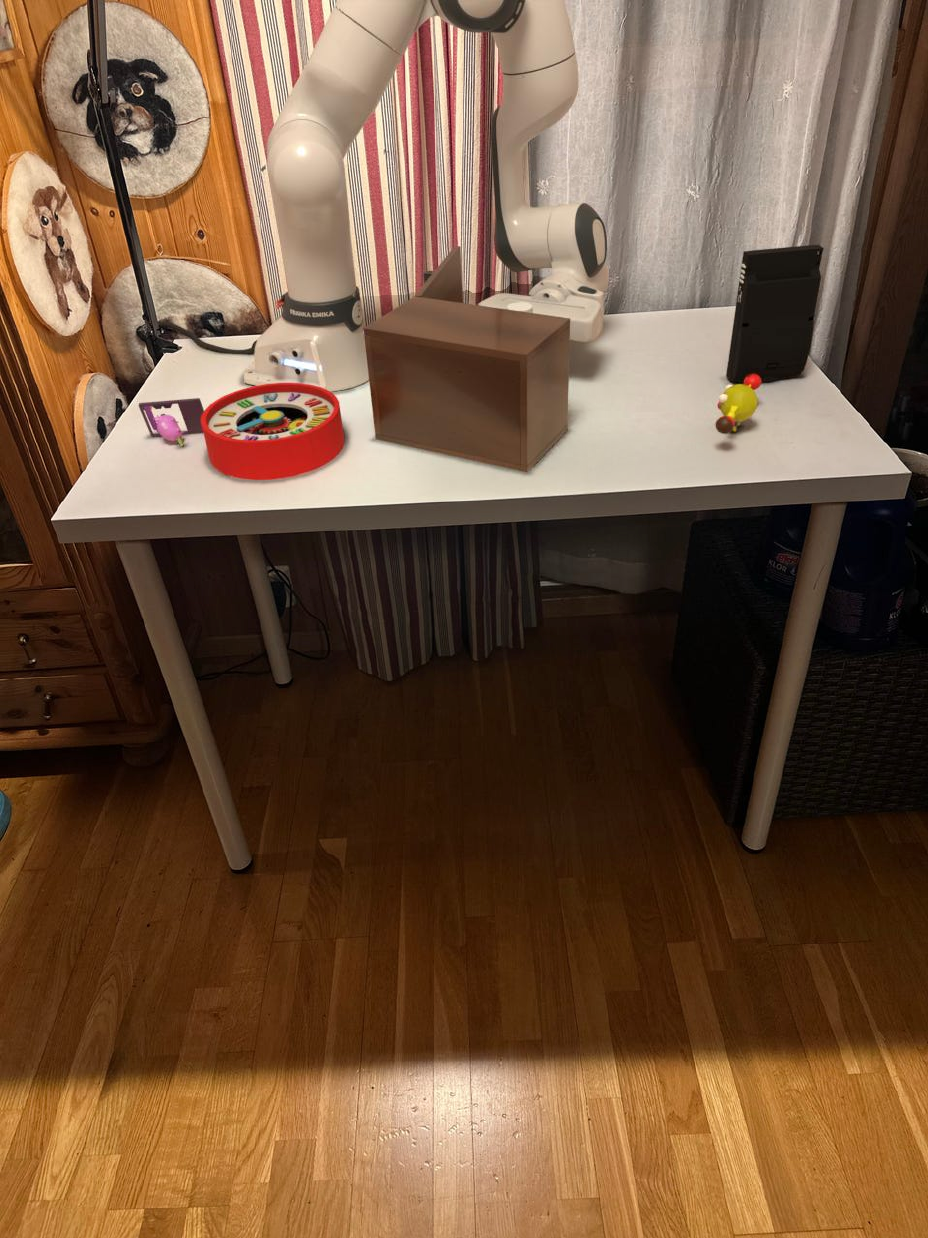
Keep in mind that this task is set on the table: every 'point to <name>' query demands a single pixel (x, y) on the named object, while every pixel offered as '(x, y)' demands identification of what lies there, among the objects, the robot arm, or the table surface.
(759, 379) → the toy figure
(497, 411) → the cabinet
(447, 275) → the cabinet door
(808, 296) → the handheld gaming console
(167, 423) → the pink toy with backboard
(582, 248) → the robot arm
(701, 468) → the table surface
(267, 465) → the toy clock
